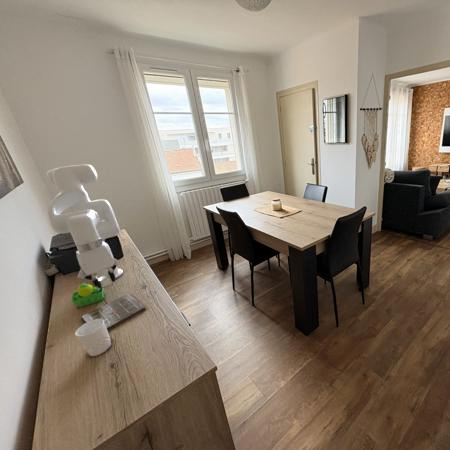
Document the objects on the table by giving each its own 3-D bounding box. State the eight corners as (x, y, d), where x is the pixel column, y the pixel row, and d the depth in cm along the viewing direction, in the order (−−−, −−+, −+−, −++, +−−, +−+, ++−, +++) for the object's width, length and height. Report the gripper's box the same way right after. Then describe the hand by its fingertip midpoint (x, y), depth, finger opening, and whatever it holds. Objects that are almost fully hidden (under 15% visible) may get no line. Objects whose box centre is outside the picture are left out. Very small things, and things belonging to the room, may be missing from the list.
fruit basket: (107, 292, 120) (98, 273, 115) (105, 301, 113) (96, 281, 109) (77, 301, 114) (67, 281, 110) (74, 312, 107) (63, 291, 103)
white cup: (83, 361, 82) (71, 339, 79) (89, 345, 89) (79, 324, 85) (111, 351, 86) (101, 330, 82) (115, 336, 92) (105, 316, 89)
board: (82, 318, 103) (81, 316, 102) (129, 295, 116) (128, 293, 116) (96, 336, 93) (95, 334, 92) (145, 309, 106) (144, 307, 105)
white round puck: (98, 285, 101) (95, 279, 100) (110, 279, 105) (108, 273, 103) (101, 288, 99) (99, 282, 98) (114, 282, 102) (111, 276, 101)
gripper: (111, 235, 103) (124, 271, 110) (59, 251, 91) (78, 291, 97) (117, 239, 99) (131, 276, 106) (64, 256, 87) (84, 297, 93)
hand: (106, 283), depth 102 cm, fingers closed on white round puck, 4 cm apart
